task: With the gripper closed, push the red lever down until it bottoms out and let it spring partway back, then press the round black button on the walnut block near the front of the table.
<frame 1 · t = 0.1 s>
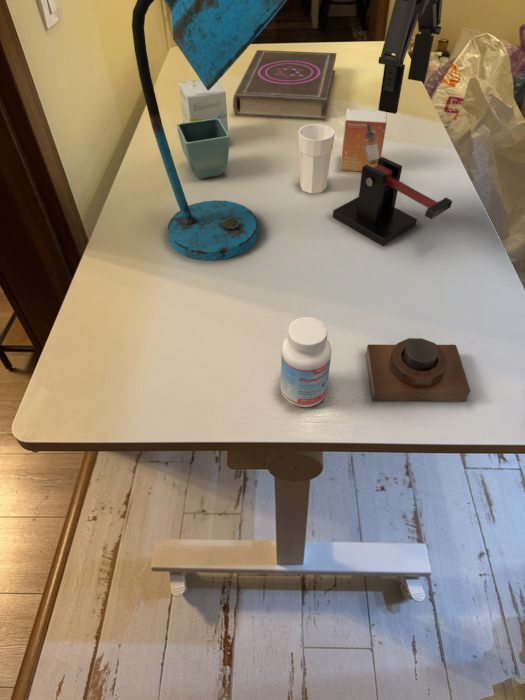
hand: (402, 95, 81), 21 cm above the table, tool pointing down, fingers open, 13 cm apart
bell button: (420, 354, 66), point 4 cm above the table, slide at 0.1 cm
pill bottle: (303, 391, 68), on the table
cup: (313, 187, 103), on the table
red lever: (407, 190, 85), point 9 cm above the table, hinge at -3.3°
flower pot: (207, 173, 108), on the table
black lever stand: (373, 221, 94), on the table
book: (287, 93, 135), on the table
ink box: (206, 141, 117), on the table
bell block: (413, 377, 69), on the table
desk lamp: (224, 235, 93), on the table
small box: (359, 166, 108), on the table
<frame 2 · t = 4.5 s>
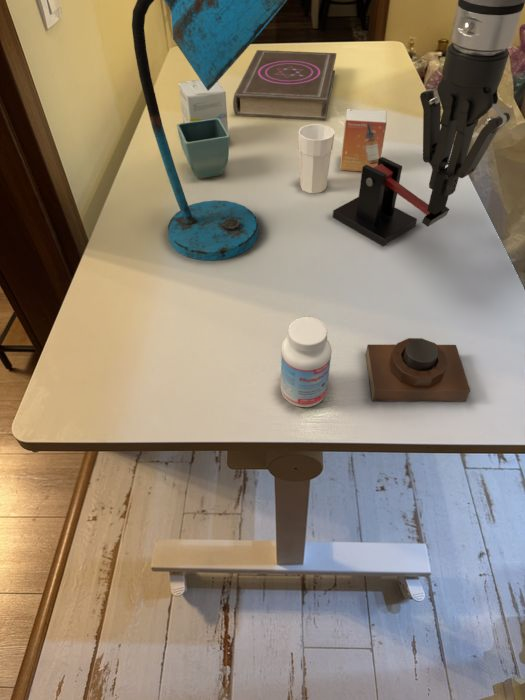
hand: (436, 209, 82), 8 cm above the table, tool pointing down, fingers closed
red lever: (405, 194, 85), point 8 cm above the table, hinge at -10.2°, touching gripper
everything else where it was.
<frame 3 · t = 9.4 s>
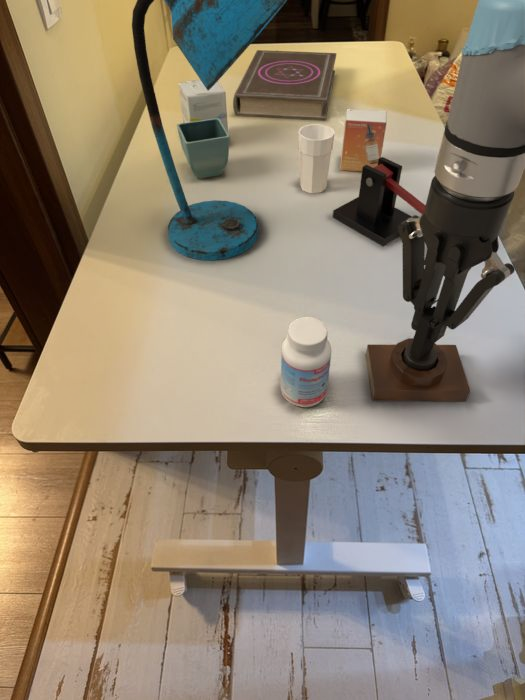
hand: (420, 351, 66), 5 cm above the table, tool pointing down, fingers closed
bell button: (419, 357, 66), point 4 cm above the table, slide at -0.4 cm, touching gripper
red lever: (405, 195, 86), point 8 cm above the table, hinge at -12.7°
everything else where it was.
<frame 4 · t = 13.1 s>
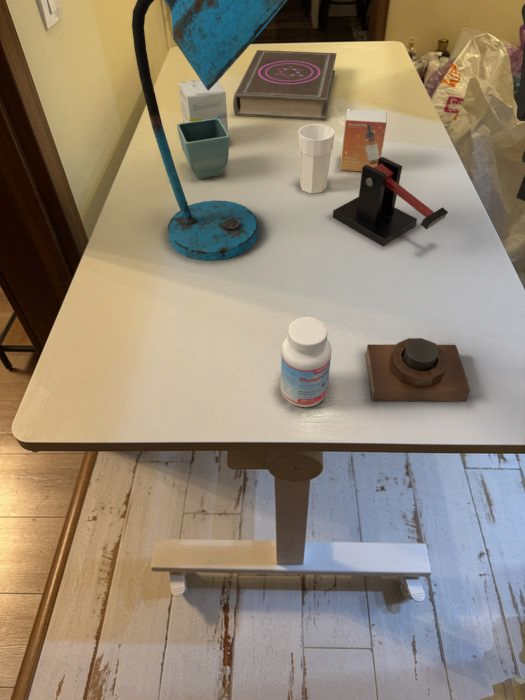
bell button: (420, 354, 66), point 4 cm above the table, slide at 0.1 cm
everything else where it was.
at the end: red lever reached -22° during the clip, -13° at the end; red lever at -13° (first picture: -3°); bell button pushed in 1.0 cm at the most during the clip, back to where it started at the end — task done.
